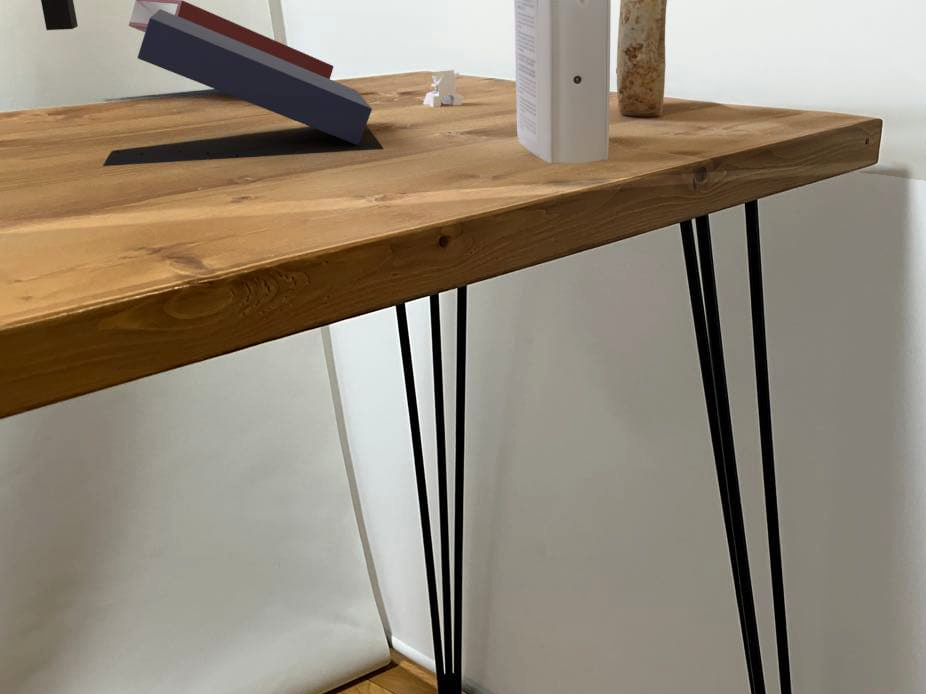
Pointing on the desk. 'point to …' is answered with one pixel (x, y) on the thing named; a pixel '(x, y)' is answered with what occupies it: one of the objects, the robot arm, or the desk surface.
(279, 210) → the desk surface
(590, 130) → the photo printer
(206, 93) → the mat back
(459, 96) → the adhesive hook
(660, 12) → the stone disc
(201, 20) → the burgundy book
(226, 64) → the navy book
